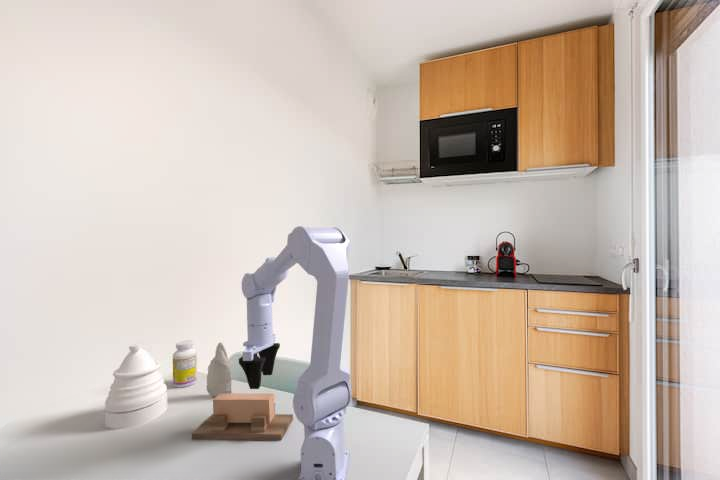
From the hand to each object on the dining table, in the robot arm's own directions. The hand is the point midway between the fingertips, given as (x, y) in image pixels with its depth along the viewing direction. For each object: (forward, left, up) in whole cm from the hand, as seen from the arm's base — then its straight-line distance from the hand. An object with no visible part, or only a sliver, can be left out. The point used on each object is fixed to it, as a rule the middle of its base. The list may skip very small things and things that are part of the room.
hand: (261, 381), depth 74 cm
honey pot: (+3, +34, -10) cm, 35 cm away
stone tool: (+13, +18, -10) cm, 24 cm away
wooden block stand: (-3, +3, -9) cm, 10 cm away
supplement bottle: (+21, +34, -10) cm, 41 cm away
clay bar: (-3, +3, -7) cm, 8 cm away
